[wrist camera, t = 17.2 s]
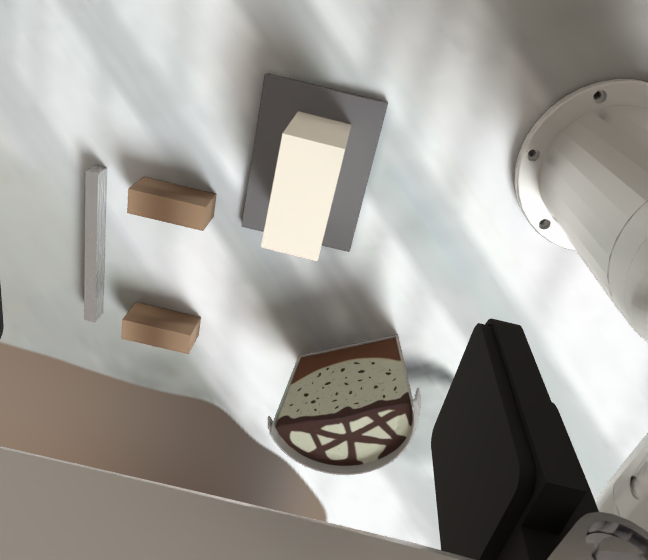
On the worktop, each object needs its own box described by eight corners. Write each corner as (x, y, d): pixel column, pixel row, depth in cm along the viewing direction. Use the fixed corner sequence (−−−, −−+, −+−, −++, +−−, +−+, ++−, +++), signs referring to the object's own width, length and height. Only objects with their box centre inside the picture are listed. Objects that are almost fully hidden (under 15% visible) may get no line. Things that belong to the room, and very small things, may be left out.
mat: (387, 102, 41) (387, 103, 40) (349, 248, 46) (349, 251, 46) (266, 73, 41) (264, 74, 40) (243, 223, 46) (241, 226, 46)
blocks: (216, 194, 45) (205, 207, 43) (198, 335, 52) (188, 354, 49) (94, 165, 45) (76, 176, 43) (92, 310, 52) (76, 328, 49)
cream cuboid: (351, 124, 41) (345, 149, 35) (326, 223, 45) (317, 261, 39) (298, 111, 41) (282, 133, 35) (278, 211, 45) (260, 247, 39)
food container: (305, 409, 55) (289, 490, 46) (283, 358, 52) (262, 434, 43) (430, 385, 52) (439, 466, 43) (414, 330, 49) (420, 405, 41)
